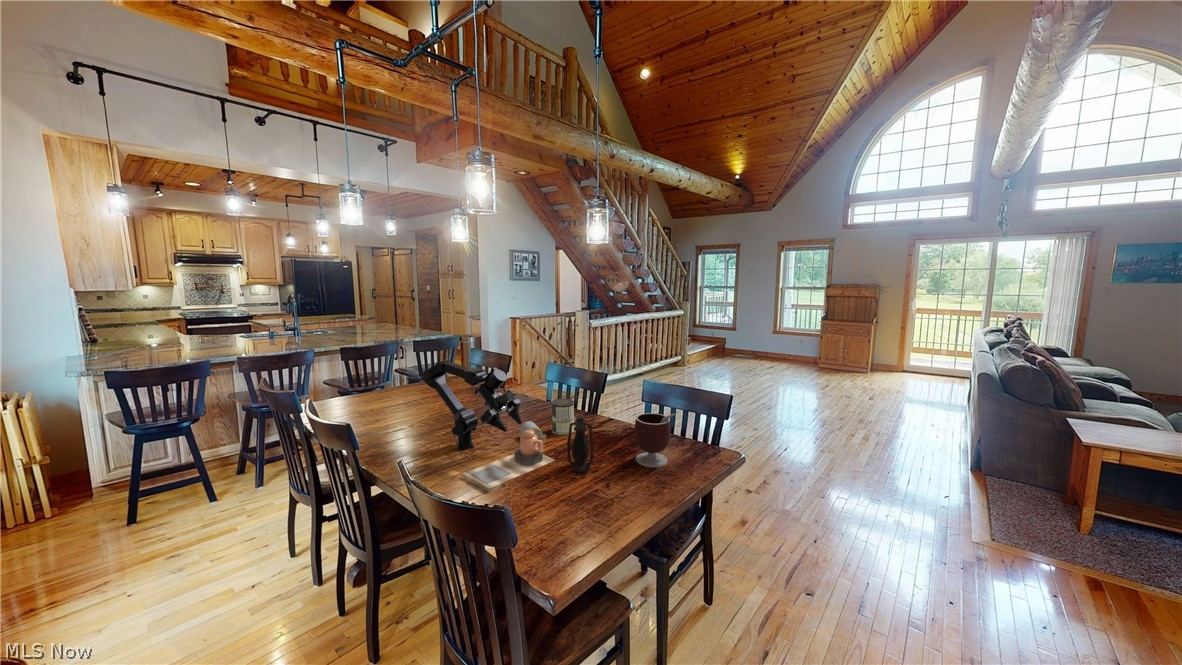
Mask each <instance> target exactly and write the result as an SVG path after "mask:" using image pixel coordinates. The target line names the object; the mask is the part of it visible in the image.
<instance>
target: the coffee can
mask: <svg viewBox="0 0 1182 665" xmlns="http://www.w3.org/2000/svg"><path fill="white" fill-rule="evenodd" d="M570 399H571V398H557V399H553V400H552V401H551V426H552V427H551V433H553V434H554V435H557V434H558V436H566V435H567V434H569V426H570V425H569V421H570V424H571V423H574V422H575V410H574V408H575V401H574V400H573V399H571V401H570ZM569 401H570V402H569ZM568 406H569V417H568ZM574 428H575V425H573V426H572V432H573V433H574V432H575V430H574ZM572 432H571V434H572Z"/></svg>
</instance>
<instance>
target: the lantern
mask: <svg viewBox="0 0 1182 665" xmlns="http://www.w3.org/2000/svg"><path fill="white" fill-rule="evenodd" d="M580 393H582V394H583V395H584V396H585V397H587V398H588V399H589V401H590V403H591V409H592V412H594V406H593V405H594V403H593V402H592V400H591V398H590V397H589V396H587V395H586V394H585V393H584V392H583V391H580V390H579V391H578V392H577V393H575V394H574V395H573V396H572V397H570V398H569V399H570V401H571V400H573V399H572V398H574V397H575V396H576V395H578V394H580ZM570 401H569V402H570ZM568 417H569V406H568ZM591 417H592V418H591V422H593V419H594V415H592V416H591ZM569 425H570V426H569V434H568V436H567V442H566V443H567V445H566V451H567V452H566V455H567V456H566V458H567V459H566V461H567V462H568V463H569V464H570V468H571V469H572V470H576V471H575V472H574V473H575V475H577V474H579V475H587V474H588V473H590V472H591V471H592V470H591V465H593V464H594V447H595V446H594V440H593V439H594V438H593V437H594V436H593V428H592V427H593V423H591V424H590V423H587V421H586V416H585V415H583V414H582V415H579V414H578V415H577V416H575V419H574V423H571V424H570V421H569ZM573 425H574V432H575V435H574V437H573V439H571V438H572V433H571V432H572V426H573ZM587 427H588V428H587ZM587 430H588V432H589V433H588V434H589V441H588V439H587V435H586V431H587ZM571 440H572V443H571ZM588 442H590V444H589V443H588ZM589 447H590V448H589ZM589 449H590V450H589ZM589 454H590V456H589ZM589 457H590V459H589V461H587V460H588V458H589ZM589 471H590V472H589ZM587 472H588V473H587ZM586 473H587V474H586Z"/></svg>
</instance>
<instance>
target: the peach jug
mask: <svg viewBox="0 0 1182 665" xmlns="http://www.w3.org/2000/svg"><path fill="white" fill-rule="evenodd" d="M519 439H520V440H519V443H520V444H519V446H520V447H519V448H520V453H521V456H535V455H537V452H543V453H544V441H543V440H542V439H539V440H538V439H537V435H535V434H534V430H524V431H523V435H521V434H520V436H519ZM537 447H539V448H537Z"/></svg>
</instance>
